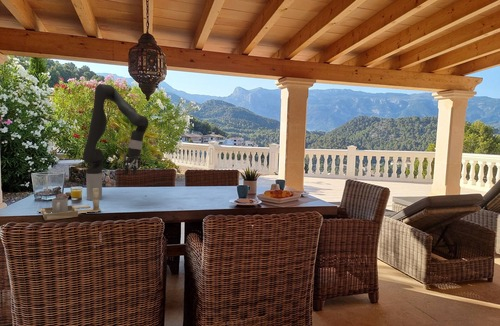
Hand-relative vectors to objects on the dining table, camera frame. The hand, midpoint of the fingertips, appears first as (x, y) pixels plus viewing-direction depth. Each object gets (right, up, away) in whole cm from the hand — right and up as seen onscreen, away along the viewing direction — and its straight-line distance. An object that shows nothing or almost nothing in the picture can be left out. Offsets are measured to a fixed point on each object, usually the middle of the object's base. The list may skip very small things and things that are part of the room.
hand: (130, 174), depth 200 cm
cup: (-29, -22, -23) cm, 43 cm away
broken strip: (-34, -20, -10) cm, 41 cm away
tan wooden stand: (-24, -21, -19) cm, 37 cm away
